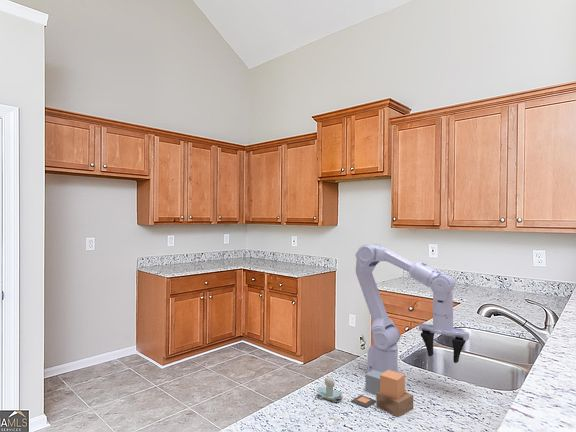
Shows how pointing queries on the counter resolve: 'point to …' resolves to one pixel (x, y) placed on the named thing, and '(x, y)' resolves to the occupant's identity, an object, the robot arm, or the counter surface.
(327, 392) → the pacifier
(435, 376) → the counter surface
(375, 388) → the slate block
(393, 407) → the walnut block
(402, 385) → the terracotta block
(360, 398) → the card
